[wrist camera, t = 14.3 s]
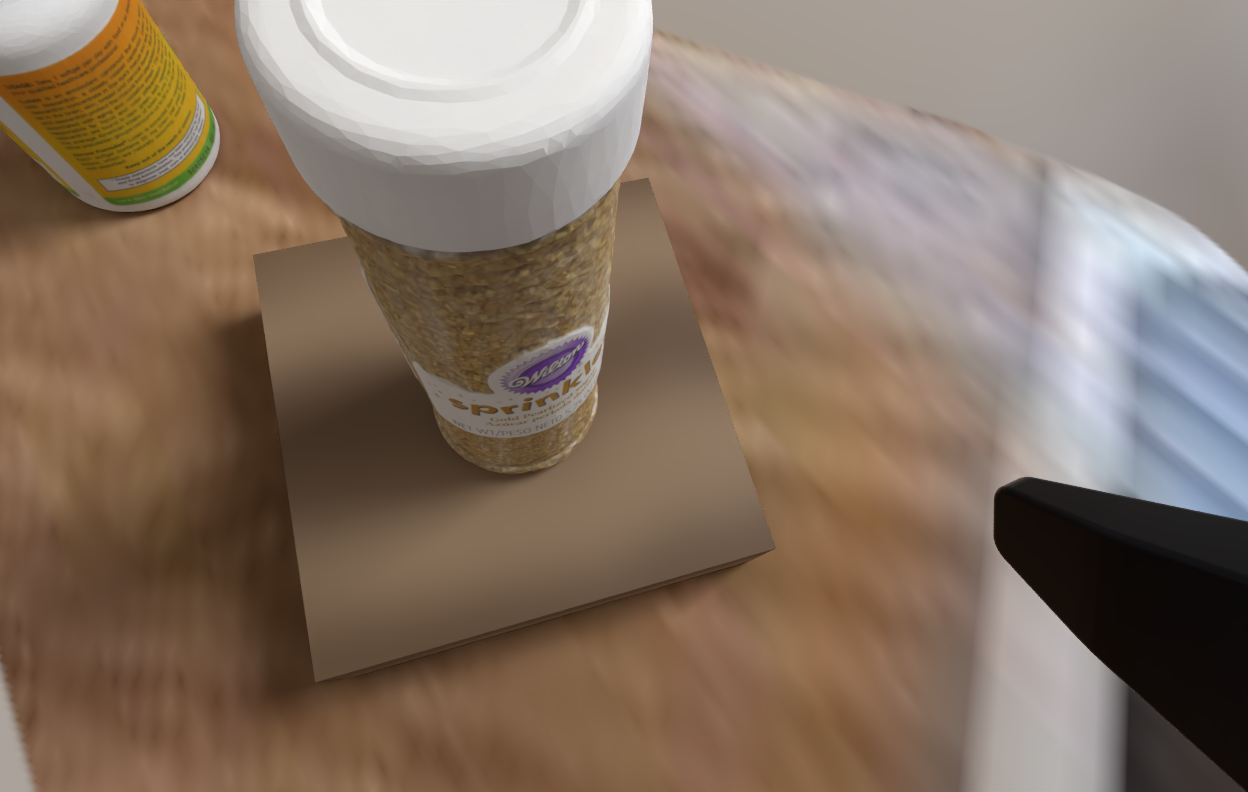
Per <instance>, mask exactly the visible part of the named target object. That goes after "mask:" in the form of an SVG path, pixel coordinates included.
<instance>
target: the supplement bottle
mask: <svg viewBox="0 0 1248 792" xmlns="http://www.w3.org/2000/svg"><path fill="white" fill-rule="evenodd" d="M0 129H2V130H3V131H4V132H5V133H6V134H7V135H8V136H9V137H10V138H11V139H12V140H13V141H14V142H15V143H16V144H18V145H19V146H20V147H21V148H22V149H23V150H24V151H25V152H26V153H27V154H28V155H29V156H30V157H31V158H33V159H34V160H35V161H36V162H37V163H38V164H39V165H40V166H41V167H42V168H43V169H44V170H45V171H47V172H48V173H49V174H50V175H51V176H52V177H53V178H54V179H55V180H56V181H57V182H58V183H60V184H61V185H62V186H63V187H64V188H66V189H67V190H68V191H69V192H70V193H72V194H73V195H74V196H76V197H77V198H79V199H80V200H82V201H84V202H85V203H88V204H90V205H92V206H95V207H98V208H101V209H105V210H110V211H117V212H136V211H144V210H149V209H154V208H158V207H161V206H164V205H167V204H169V203H172V202H174V201H176V200H178V199H180V198H182V197H183V196H185V195H186V194H188V193H189V192H191V191H192V190H193V189H195V188H196V187H197V186H198V185H199V184H200V183H201V182H202V181H203V179H204V178H205V177H206V176H207V174H208V173H209V171H210V170H211V168H212V167H213V165H214V162H215V160H216V158H217V154H218V151H219V144H220V133H219V127H218V123H217V120H216V118H215V116H214V114H213V112H212V110H211V108H210V107H209V105H208V103H207V102H206V100H205V99H204V97H203V96H202V94H201V93H200V91H199V89H198V88H197V86H196V85H195V83H194V82H193V80H192V79H191V77H190V76H189V74H188V73H187V71H186V70H185V68H184V67H183V65H182V64H181V62H180V61H179V59H178V58H177V56H176V55H175V53H174V52H173V50H172V49H171V47H170V46H169V44H168V42H167V40H166V39H165V38H164V36H163V35H162V33H161V31H160V30H159V28H158V27H157V25H156V24H155V23H154V21H153V20H152V18H151V16H150V15H149V13H148V12H147V10H146V9H145V7H144V6H143V4H142V2H141V1H140V0H0Z"/></svg>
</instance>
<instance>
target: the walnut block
mask: <svg viewBox="0 0 1248 792" xmlns="http://www.w3.org/2000/svg"><path fill="white" fill-rule="evenodd" d="M615 222H616V223H615V231H614V232H615V240H614V244H613V256H612V262H611V273H610V280H609V284H610V298H609V312H608V318H607V325H606V331H605V339H604V347H603V355H602V362H601V368H600V371H599V374H598V377H597V385H598V406H597V411H596V414H595V417H594V420H593V422H592V424H591V427H590V429H589V431H588V432H587V434H586V436H585V437H584V439H583V441H582V442H581V443H580V444H579V445H578V446H577V447H576V448H575V449H574V450H573V451H572V452H571V453H570V454H569V456H568V457H566V458H565V459H564V460H562V461H559V462H557V463H556V464H554V465H552V466H550V467H547V468H543V469H539V470H537V471H528V472H526V473H518V474H504V473H498V472H494V471H488V470H486V469H484V468H482V467H479V466H477V465H475V464H474V463H472V462H469V461H468V460H466V459H464V458H463V457H462V456H461V455H459V454H458V453H457V452H456V451H455V450H454V449H453V448H452V447H451V446H450V445H449V444H448V443H447V441H446V440H445V438H444V437H443V435H442V433H441V431H440V428H439V426H438V423H437V421H436V418H435V415H434V411H433V405H432V403H431V401H430V399H429V397H428V395H427V393H426V391H425V389H424V388H423V386H422V384H421V383H420V382H419V381H418V379H417V378H416V376H415V375H414V373H413V371H412V369H411V367H410V365H409V364H408V362H407V360H406V358H405V356H404V354H403V352H402V350H401V348H400V347H399V345H398V343H397V341H396V339H395V337H394V336H393V334H392V332H391V330H390V328H389V326H388V325H387V323H386V320H385V319H384V317H383V315H382V313H381V311H380V309H379V307H378V305H377V303H376V301H375V299H374V298H373V296H372V294H371V292H370V290H369V288H368V286H367V284H366V282H365V280H364V277H363V275H362V272H361V268H360V264H359V258H358V256H357V255H356V253H355V252H354V250H353V248H352V246H351V244H350V242H349V239H348V237H343V238H338V239H333V240H328V241H322V242H317V243H312V244H307V245H302V246H297V247H292V248H287V249H282V250H276V251H271V252H266V253H261V254H256V255H253V257H254V264H255V271H256V278H257V285H258V292H259V299H260V306H261V313H262V319H263V326H264V333H265V340H266V347H267V354H268V361H269V368H270V375H271V382H272V388H273V395H274V402H275V409H276V416H277V423H278V430H279V437H280V444H281V451H282V457H283V464H284V471H285V478H286V485H287V492H288V499H289V506H290V513H291V520H292V526H293V533H294V540H295V547H296V554H297V561H298V568H299V575H300V582H301V589H302V595H303V602H304V609H305V616H306V623H307V630H308V637H309V644H310V651H311V658H312V664H313V671H314V678H315V682H322V681H330V680H338V679H346V678H351V677H355V676H358V675H362V674H365V673H368V672H372V671H375V670H379V669H382V668H386V667H389V666H392V665H396V664H399V663H403V662H406V661H410V660H413V659H416V658H420V657H423V656H427V655H430V654H433V653H437V652H440V651H444V650H447V649H451V648H454V647H457V646H461V645H464V644H468V643H471V642H475V641H478V640H481V639H485V638H488V637H492V636H495V635H498V634H502V633H505V632H509V631H512V630H516V629H519V628H522V627H526V626H529V625H533V624H536V623H540V622H543V621H546V620H550V619H553V618H557V617H560V616H563V615H567V614H570V613H574V612H577V611H581V610H584V609H587V608H591V607H594V606H598V605H601V604H605V603H608V602H611V601H615V600H618V599H622V598H625V597H629V596H632V595H635V594H639V593H642V592H646V591H649V590H652V589H656V588H659V587H663V586H666V585H670V584H673V583H676V582H680V581H683V580H687V579H690V578H694V577H697V576H700V575H704V574H707V573H711V572H714V571H717V570H721V569H724V568H728V567H731V566H735V565H738V564H741V563H745V562H748V561H751V560H753V559H755V558H757V557H759V556H761V555H763V554H765V553H767V552H769V551H771V550H773V549H775V545H774V542H773V539H772V536H771V533H770V530H769V527H768V524H767V521H766V518H765V516H764V513H763V510H762V507H761V504H760V501H759V498H758V495H757V492H756V489H755V487H754V484H753V481H752V478H751V475H750V472H749V469H748V466H747V463H746V460H745V458H744V455H743V452H742V449H741V446H740V443H739V440H738V437H737V434H736V431H735V429H734V426H733V423H732V420H731V417H730V414H729V411H728V408H727V405H726V402H725V399H724V397H723V394H722V391H721V388H720V385H719V382H718V379H717V376H716V373H715V370H714V368H713V365H712V362H711V359H710V356H709V353H708V350H707V347H706V344H705V341H704V339H703V336H702V333H701V330H700V327H699V324H698V321H697V318H696V315H695V312H694V310H693V307H692V304H691V301H690V298H689V295H688V292H687V289H686V286H685V283H684V280H683V278H682V275H681V272H680V269H679V266H678V263H677V260H676V257H675V254H674V251H673V249H672V246H671V243H670V240H669V237H668V234H667V231H666V228H665V225H664V222H663V220H662V217H661V214H660V211H659V208H658V205H657V202H656V199H655V196H654V193H653V191H652V188H651V185H650V182H649V179H648V178H645V179H640V180H635V181H629V182H624V183H620V188H619V192H618V203H617V211H616V220H615Z"/></svg>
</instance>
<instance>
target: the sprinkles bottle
mask: <svg viewBox="0 0 1248 792" xmlns="http://www.w3.org/2000/svg"><path fill="white" fill-rule="evenodd" d="M235 27H236V33H237V39H238V44H239V48H240V51H241V55H242V57H243V59H244V62H245V64H246V67H247V69H248V72H249V74H250V76H251V78H252V80H253V83H254V85H255V87H256V89H257V91H258V93H259V95H260V97H261V99H262V101H263V103H264V106H265V108H266V110H267V112H268V114H269V116H270V118H271V120H272V122H273V124H274V126H275V128H276V130H277V132H278V134H279V135H280V137H281V139H282V141H283V143H284V145H285V147H286V149H287V151H288V153H289V155H290V157H291V159H292V160H293V162H294V164H295V166H296V168H297V169H298V171H299V172H300V174H301V175H302V177H303V179H304V180H305V182H306V183H307V184H308V185H309V186H310V188H311V189H312V190H313V191H314V192H315V194H316V195H317V196H319V197H320V198H321V199H322V200H323V201H324V202H325V204H326V205H327V206H328V207H329V209H330V210H331V211H332V213H333V214H335V215H336V216H338V217H339V219H340V221H341V224H342V226H343V228H344V230H345V233H346V234H347V236H348V239H349V242H350V244H351V246H352V248H353V250H354V252H355V253H356V255H357V256H358V258H359V264H360V268H361V272H362V275H363V277H364V280H365V282H366V284H367V286H368V288H369V290H370V292H371V294H372V296H373V298H374V299H375V301H376V303H377V305H378V307H379V309H380V311H381V313H382V315H383V317H384V319H385V320H386V323H387V325H388V326H389V328H390V330H391V332H392V334H393V336H394V337H395V339H396V341H397V343H398V345H399V347H400V348H401V350H402V352H403V354H404V356H405V358H406V360H407V362H408V364H409V365H410V367H411V369H412V371H413V373H414V375H415V376H416V378H417V379H418V381H419V382H420V383H421V384H422V386H423V388H424V389H425V391H426V393H427V395H428V397H429V399H430V401H431V403H432V405H433V411H434V415H435V418H436V421H437V423H438V426H439V428H440V431H441V433H442V435H443V437H444V438H445V440H446V441H447V443H448V444H449V445H450V446H451V447H452V448H453V449H454V450H455V451H456V452H457V453H458V454H459V455H461V456H462V457H463V458H464V459H466V460H468V461H469V462H472V463H474V464H475V465H477V466H479V467H482V468H484V469H486V470H488V471H494V472H498V473H504V474H518V473H526V472H528V471H537V470H539V469H543V468H547V467H550V466H552V465H554V464H556V463H557V462H559V461H562V460H564V459H565V458H566V457H568V456H569V454H570V453H571V452H572V451H573V450H574V449H575V448H576V447H577V446H578V445H579V444H580V443H581V442H582V441H583V439H584V437H585V436H586V434H587V432H588V431H589V429H590V427H591V424H592V422H593V420H594V417H595V414H596V411H597V406H598V385H597V377H598V374H599V371H600V368H601V362H602V355H603V347H604V339H605V331H606V325H607V318H608V312H609V298H610V284H609V280H610V273H611V262H612V256H613V244H614V240H615V232H614V231H615V223H616V222H615V220H616V211H617V203H618V192H619V188H620V178H621V174H622V172H623V171H624V169H625V167H626V165H627V164H628V162H629V160H630V158H631V156H632V154H633V152H634V149H635V145H636V142H637V139H638V135H639V132H640V126H641V119H642V112H643V105H644V99H645V92H646V85H647V77H648V68H649V60H650V52H651V43H652V35H653V15H652V4H651V0H235Z"/></svg>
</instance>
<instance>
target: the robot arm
mask: <svg viewBox="0 0 1248 792" xmlns="http://www.w3.org/2000/svg"><path fill="white" fill-rule="evenodd" d="M994 541H995V545H996V547H997V549H998V551H999V552H1000V554H1001V555H1002V556H1003V558H1004V559H1005V560H1006V561H1007V562H1008V563H1009V564H1010V565H1011V566H1012V568H1013V569H1014V570H1015V571H1016V572H1017V573H1018V574H1019V575H1020V576H1021V577H1022V578H1023V579H1024V581H1025V582H1026V583H1027V584H1028V585H1029V586H1030V587H1031V588H1032V589H1033V590H1034V591H1035V592H1036V594H1037V595H1038V596H1039V597H1040V598H1041V599H1042V600H1043V601H1044V602H1045V603H1046V604H1047V605H1048V606H1049V608H1050V609H1051V610H1052V611H1053V612H1054V613H1055V614H1056V615H1057V616H1058V617H1059V618H1060V619H1061V621H1062V622H1063V623H1064V624H1065V625H1066V626H1067V627H1068V628H1069V629H1070V630H1071V631H1072V632H1073V634H1074V635H1075V636H1076V637H1077V638H1078V639H1079V640H1080V641H1081V642H1082V643H1083V644H1084V645H1085V646H1086V647H1087V648H1088V649H1089V650H1090V651H1091V652H1092V653H1093V654H1094V655H1095V656H1096V657H1097V658H1098V659H1099V660H1101V661H1102V662H1103V663H1104V664H1105V665H1106V666H1107V667H1108V668H1109V669H1110V670H1111V671H1112V672H1114V673H1115V674H1116V675H1117V676H1118V677H1119V678H1120V679H1121V680H1122V681H1124V682H1125V683H1126V684H1127V685H1128V686H1129V687H1130V688H1131V689H1132V690H1133V691H1135V692H1136V693H1137V694H1138V695H1139V696H1140V697H1141V698H1142V699H1143V700H1145V701H1146V702H1147V703H1148V704H1149V705H1150V706H1151V707H1152V708H1153V709H1155V710H1156V711H1157V712H1158V713H1159V714H1160V715H1161V716H1162V717H1163V718H1165V719H1166V720H1167V721H1168V722H1169V723H1170V724H1171V725H1172V726H1173V727H1174V728H1176V729H1177V730H1178V731H1179V732H1180V733H1181V734H1182V735H1183V736H1184V737H1186V738H1187V739H1188V740H1189V741H1190V742H1191V743H1192V744H1193V745H1194V746H1196V747H1197V748H1198V749H1199V750H1200V751H1201V752H1202V753H1203V754H1204V755H1206V756H1207V757H1208V758H1209V759H1210V760H1211V761H1212V762H1213V763H1214V764H1215V765H1217V766H1218V767H1219V768H1220V769H1221V770H1222V771H1223V772H1224V773H1225V774H1227V775H1228V776H1229V777H1230V778H1231V779H1232V780H1233V781H1234V782H1235V783H1237V784H1238V785H1239V786H1240V787H1241V788H1242V789H1243V790H1244V791H1245V792H1248V521H1243V520H1238V519H1233V518H1229V517H1224V516H1219V515H1214V514H1209V513H1204V512H1199V511H1194V510H1190V509H1185V508H1180V507H1175V506H1170V505H1165V504H1160V503H1155V502H1151V501H1146V500H1141V499H1136V498H1131V497H1126V496H1121V495H1116V494H1111V493H1107V492H1102V491H1097V490H1092V489H1087V488H1082V487H1077V486H1072V485H1068V484H1063V483H1058V482H1053V481H1048V480H1043V479H1038V478H1033V477H1023V478H1019V479H1017V480H1015V481H1013V482H1011V483H1009V484H1006V485H1004V486H1002V487H1000V488H999V489H998V490H997V492H996V493H995V496H994Z"/></svg>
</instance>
